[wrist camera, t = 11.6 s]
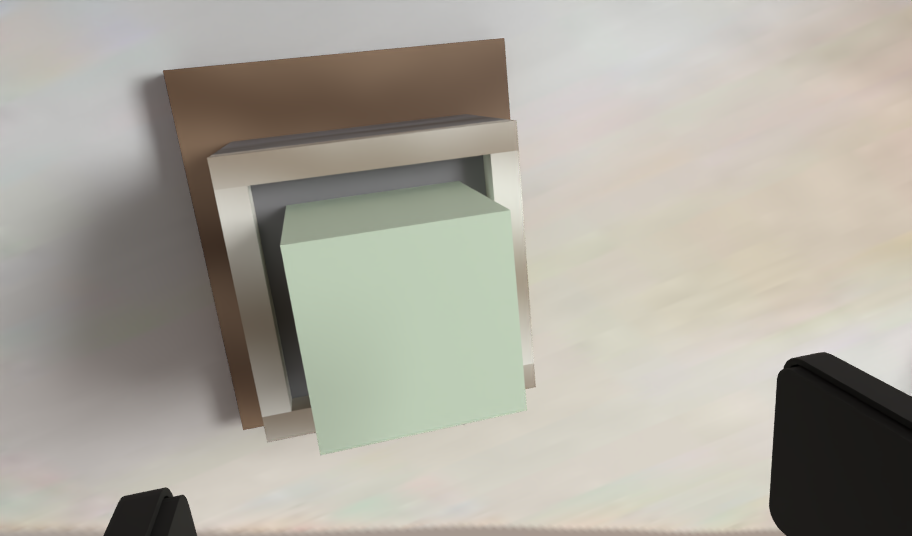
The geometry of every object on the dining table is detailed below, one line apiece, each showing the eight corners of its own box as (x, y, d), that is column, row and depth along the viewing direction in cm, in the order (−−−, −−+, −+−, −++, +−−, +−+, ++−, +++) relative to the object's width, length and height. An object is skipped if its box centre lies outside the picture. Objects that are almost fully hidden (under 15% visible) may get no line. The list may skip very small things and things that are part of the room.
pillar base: (170, 71, 26) (112, 62, 18) (494, 40, 29) (567, 20, 21) (246, 414, 31) (226, 527, 23) (519, 360, 33) (587, 444, 25)
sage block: (285, 205, 21) (280, 245, 16) (458, 180, 22) (510, 210, 17) (315, 367, 23) (320, 455, 17) (474, 336, 24) (526, 410, 19)
